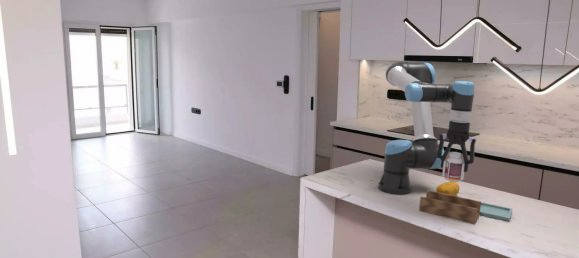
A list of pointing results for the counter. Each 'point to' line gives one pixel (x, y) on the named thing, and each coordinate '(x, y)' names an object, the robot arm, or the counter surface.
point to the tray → (495, 211)
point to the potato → (448, 188)
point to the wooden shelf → (450, 206)
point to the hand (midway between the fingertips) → (452, 177)
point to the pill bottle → (453, 167)
